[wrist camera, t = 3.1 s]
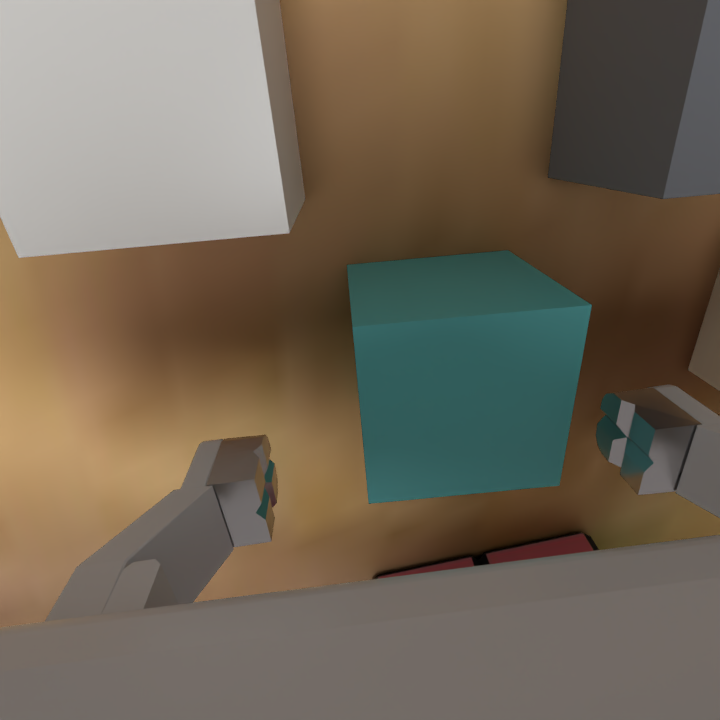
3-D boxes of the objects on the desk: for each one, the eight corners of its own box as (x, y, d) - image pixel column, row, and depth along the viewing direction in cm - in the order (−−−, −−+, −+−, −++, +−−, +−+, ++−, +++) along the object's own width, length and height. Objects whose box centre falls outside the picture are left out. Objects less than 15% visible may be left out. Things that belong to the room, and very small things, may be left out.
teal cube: (507, 249, 13) (591, 305, 9) (496, 387, 16) (559, 485, 11) (346, 264, 13) (352, 327, 9) (359, 399, 16) (368, 503, 11)
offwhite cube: (276, -27, 10) (231, -153, 6) (305, 198, 12) (289, 233, 8) (62, -8, 10) (-151, -122, 6) (131, 214, 12) (18, 257, 8)
